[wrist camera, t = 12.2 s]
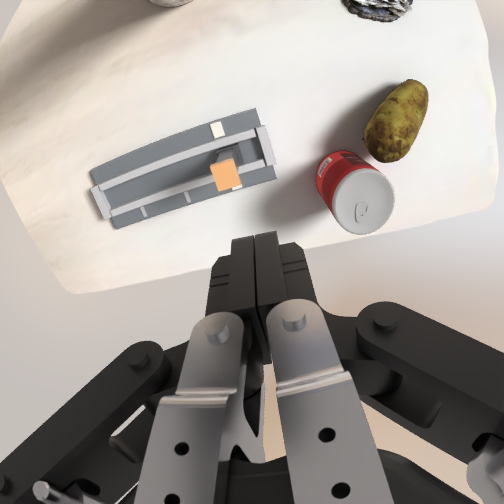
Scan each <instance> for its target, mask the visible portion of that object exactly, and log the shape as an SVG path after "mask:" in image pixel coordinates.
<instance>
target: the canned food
mask: <svg viewBox="0 0 504 504" xmlns="http://www.w3.org/2000/svg"><path fill="white" fill-rule="evenodd" d="M316 186H317V189H318V191H319V193H320V195H321V196H322V198H323V199H324V201H325V203H326V204H327V206H328V208H329V209H330V211H331V213H332V214H333V216H334V218H335V219H336V221H337V222H338V223H339V224H340V226H341V227H342V228H344V229H345V230H346V231H348V232H350V233H353V234H358V235H364V234H369V233H372V232H374V231H376V230H377V229H379V228H380V227H382V226H383V225H384V224H385V223H386V221H387V220H388V219H389V217H390V215H391V214H392V211H393V208H394V203H395V195H394V190H393V187H392V185H391V183H390V182H389V180H388V179H387V178H386V177H385V176H384V175H383V174H382V173H381V172H380V171H378V170H377V169H376V168H374V167H373V166H371V165H370V164H369V163H367V162H366V161H364V160H363V159H361V158H360V157H359V156H357V155H355V154H354V153H352V152H348V151H338V152H334V153H332V154H330V155H328V156H327V157H326V158H324V159H323V161H322V162H321V163H320V165H319V167H318V169H317V173H316Z"/></svg>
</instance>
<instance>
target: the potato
mask: <svg viewBox="0 0 504 504" xmlns="http://www.w3.org/2000/svg"><path fill="white" fill-rule="evenodd" d="M427 107H428V91H427V89H426V87H425V86H424V85H423V84H422V83H420V82H419V81H416V80H413V79H408V80H406V81H404V82H403V83H401V84H400V85H399V86H398V87H397V88H396V89H394V90H392V91H391V92H390V93H389V95H388V96H387V97H386V99H385V100H384V101H383V102H382V103H381V104H380V106H379V107H378V108H377V109H376V111H375V113H374V115H373V116H372V118H371V120H370V121H369V123H368V125H367V127H366V129H365V132H364V134H363V139H362V140H364V143H365V144H366V146H367V149H368V151H369V152H370V154H371V155H372V156H373V158H375V159H376V160H377V161H379V162H382V163H390V162H394V161H398V160H400V159H401V158H403V157H404V156H405V155H406V154H407V153H408V151H409V150H410V148H411V146H412V144H413V142H414V141H415V139H416V137H417V134H418V132H419V129H420V127H421V125H422V122H423V120H424V117H425V114H426V111H427Z"/></svg>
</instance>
